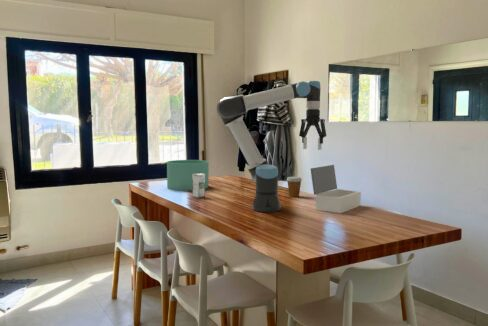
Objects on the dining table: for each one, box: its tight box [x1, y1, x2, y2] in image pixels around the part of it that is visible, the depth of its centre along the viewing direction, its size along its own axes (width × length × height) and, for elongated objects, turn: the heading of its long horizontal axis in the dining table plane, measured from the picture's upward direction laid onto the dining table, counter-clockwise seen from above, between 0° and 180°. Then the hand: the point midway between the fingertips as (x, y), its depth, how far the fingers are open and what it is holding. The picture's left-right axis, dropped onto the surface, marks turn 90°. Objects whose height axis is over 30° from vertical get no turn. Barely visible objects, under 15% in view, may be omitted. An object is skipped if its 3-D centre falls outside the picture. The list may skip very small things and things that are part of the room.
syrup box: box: [191, 173, 206, 199], centre depth 256 cm, size 6×6×14 cm
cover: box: [310, 164, 338, 195], centre depth 229 cm, size 26×14×1 cm
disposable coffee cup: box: [286, 176, 303, 198], centre depth 260 cm, size 10×10×12 cm
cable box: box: [315, 188, 362, 214], centre depth 224 cm, size 26×14×8 cm, turn 142°
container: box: [166, 159, 210, 191], centre depth 296 cm, size 30×30×19 cm
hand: (312, 149), depth 232 cm, fingers open, 9 cm apart
